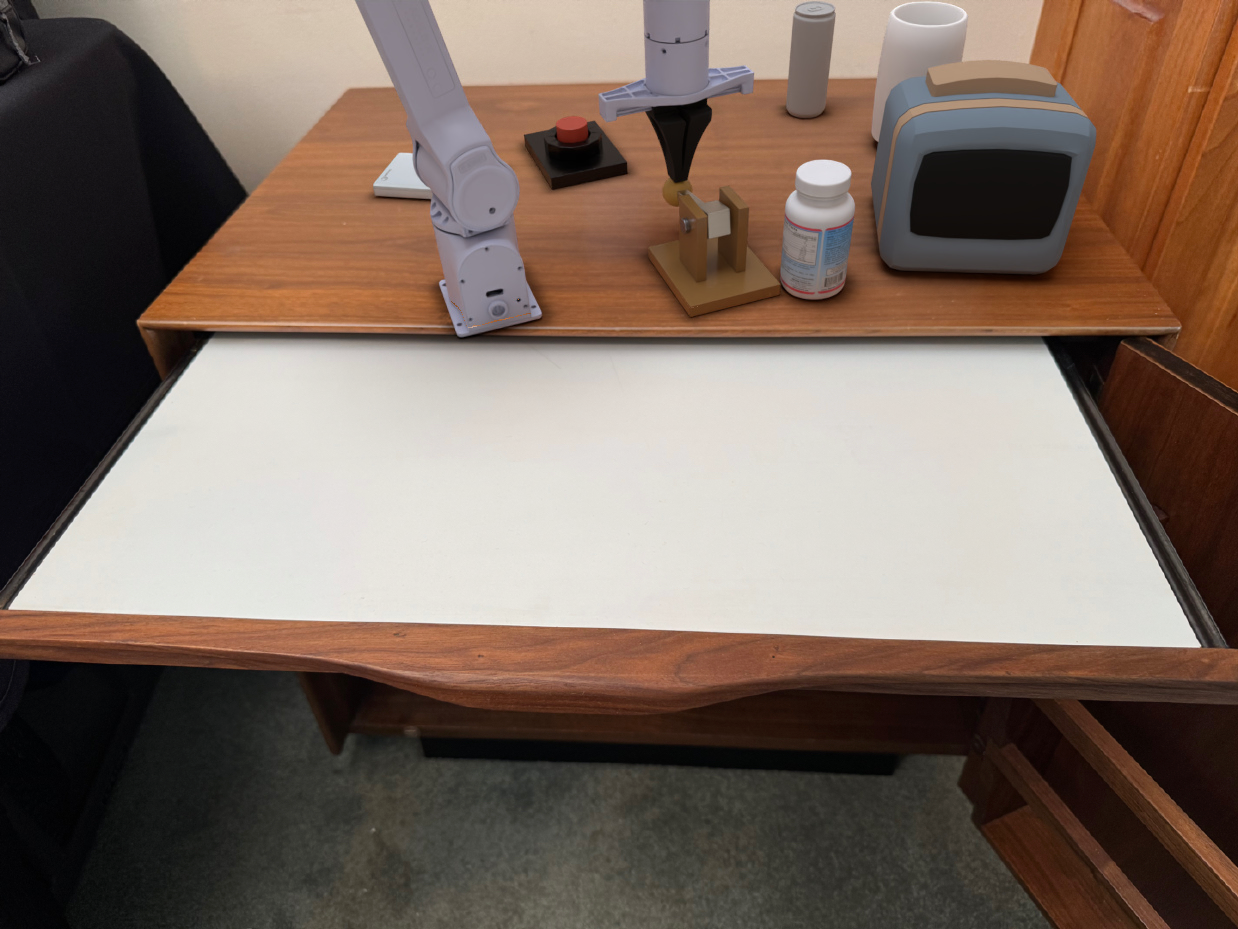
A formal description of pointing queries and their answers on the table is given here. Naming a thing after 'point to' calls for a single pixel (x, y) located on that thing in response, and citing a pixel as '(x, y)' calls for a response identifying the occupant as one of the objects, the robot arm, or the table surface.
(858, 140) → the table surface
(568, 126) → the button
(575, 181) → the button block
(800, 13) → the beverage can
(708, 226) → the tap lever
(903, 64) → the cup
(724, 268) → the bracket
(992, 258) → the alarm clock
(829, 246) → the pill bottle
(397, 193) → the hard drive
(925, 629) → the table surface
